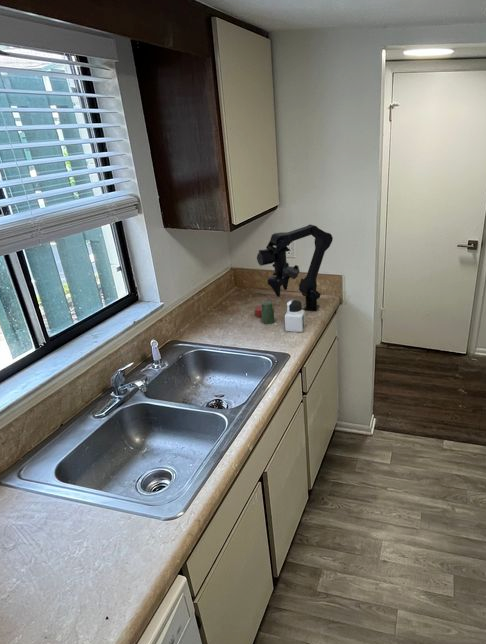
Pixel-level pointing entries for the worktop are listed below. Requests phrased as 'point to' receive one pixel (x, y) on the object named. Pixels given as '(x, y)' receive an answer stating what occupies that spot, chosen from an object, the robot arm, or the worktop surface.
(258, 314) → the jar lid
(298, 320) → the container
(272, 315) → the jam jar
